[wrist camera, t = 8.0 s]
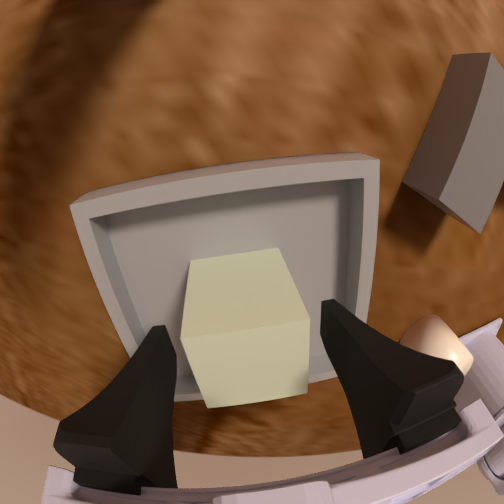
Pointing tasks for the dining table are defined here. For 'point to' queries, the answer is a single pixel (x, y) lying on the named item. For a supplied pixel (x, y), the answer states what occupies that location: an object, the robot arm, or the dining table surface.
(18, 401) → the dining table surface
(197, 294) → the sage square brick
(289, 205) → the grey tray
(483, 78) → the grey rectangular block
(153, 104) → the dining table surface
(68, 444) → the robot arm
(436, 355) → the cream round brick
